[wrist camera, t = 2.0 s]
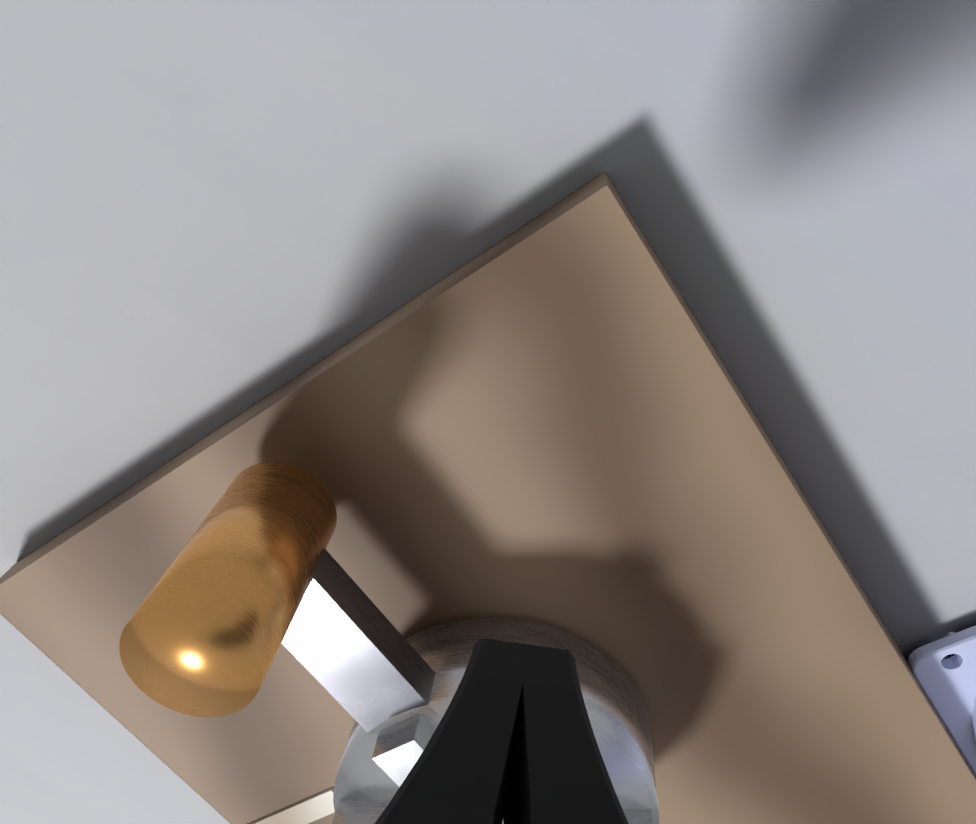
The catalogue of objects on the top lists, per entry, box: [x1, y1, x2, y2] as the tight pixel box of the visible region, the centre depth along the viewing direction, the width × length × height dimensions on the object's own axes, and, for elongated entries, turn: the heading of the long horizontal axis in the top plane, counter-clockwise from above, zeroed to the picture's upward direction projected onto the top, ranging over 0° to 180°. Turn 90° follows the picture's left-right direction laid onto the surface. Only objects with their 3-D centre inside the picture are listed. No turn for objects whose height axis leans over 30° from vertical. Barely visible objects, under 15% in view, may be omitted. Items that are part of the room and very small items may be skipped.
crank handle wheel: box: [119, 462, 660, 824], centre depth 19 cm, size 14×8×6 cm, turn 35°
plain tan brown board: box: [0, 172, 976, 824], centre depth 24 cm, size 21×22×2 cm
